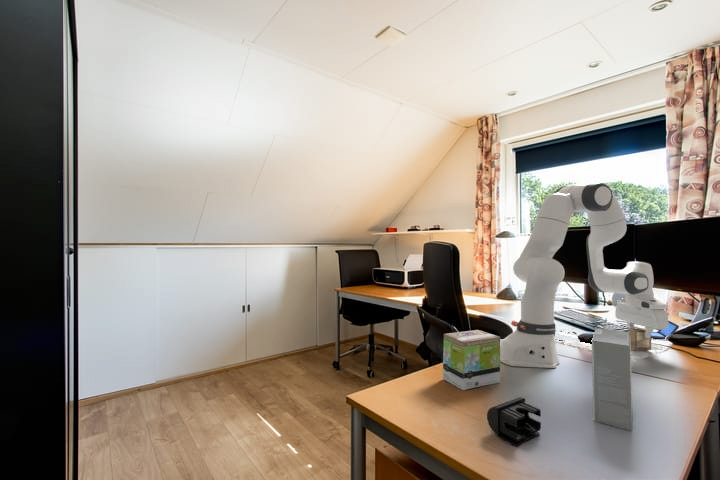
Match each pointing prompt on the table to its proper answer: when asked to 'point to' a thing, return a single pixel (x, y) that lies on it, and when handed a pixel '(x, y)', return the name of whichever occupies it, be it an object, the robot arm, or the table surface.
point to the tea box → (471, 359)
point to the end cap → (514, 421)
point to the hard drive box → (612, 378)
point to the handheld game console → (665, 331)
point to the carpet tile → (634, 353)
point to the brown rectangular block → (639, 339)
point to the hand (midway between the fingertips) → (639, 335)
